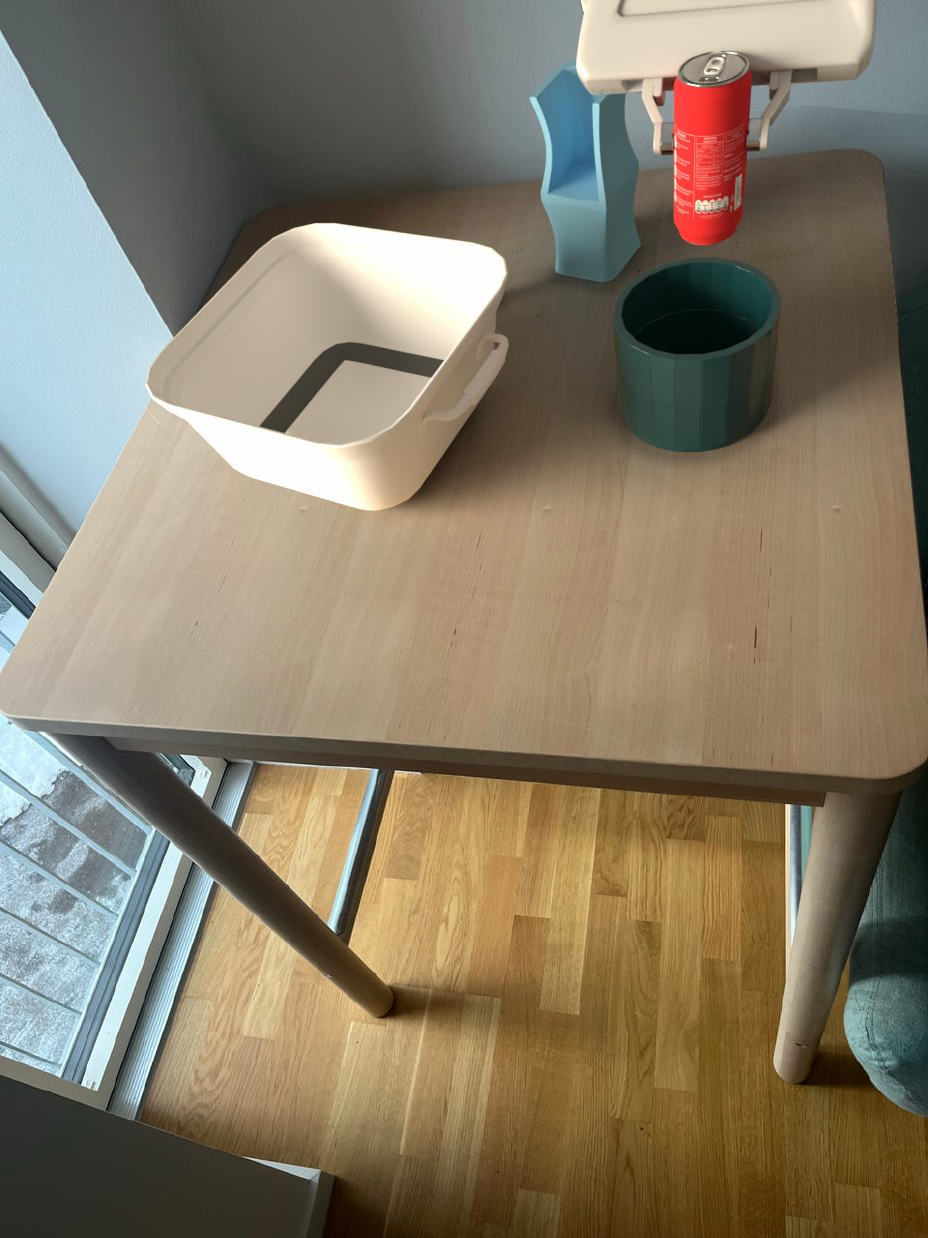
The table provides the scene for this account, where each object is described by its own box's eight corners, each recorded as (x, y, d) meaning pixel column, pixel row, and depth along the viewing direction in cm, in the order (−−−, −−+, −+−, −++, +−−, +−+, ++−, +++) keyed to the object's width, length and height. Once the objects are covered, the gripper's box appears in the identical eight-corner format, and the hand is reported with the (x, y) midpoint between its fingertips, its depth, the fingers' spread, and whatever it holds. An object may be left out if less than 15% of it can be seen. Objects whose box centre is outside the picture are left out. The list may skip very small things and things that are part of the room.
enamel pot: (773, 350, 92) (783, 253, 83) (767, 454, 84) (778, 359, 76) (628, 351, 96) (623, 259, 87) (610, 450, 88) (603, 360, 80)
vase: (550, 272, 107) (528, 97, 91) (581, 233, 110) (565, 58, 94) (611, 284, 103) (599, 104, 87) (641, 244, 107) (635, 63, 91)
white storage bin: (571, 378, 95) (557, 253, 84) (442, 582, 83) (404, 468, 71) (312, 326, 109) (269, 213, 98) (168, 494, 97) (98, 387, 85)
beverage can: (666, 246, 71) (665, 87, 61) (683, 208, 73) (684, 49, 64) (733, 250, 69) (743, 86, 59) (748, 210, 71) (760, 47, 62)
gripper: (574, -73, 63) (559, 143, 66) (896, -110, 57) (864, 130, 60) (591, -29, 69) (577, 168, 72) (884, -58, 63) (856, 158, 66)
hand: (710, 151), depth 66 cm, fingers closed on beverage can, 5 cm apart
